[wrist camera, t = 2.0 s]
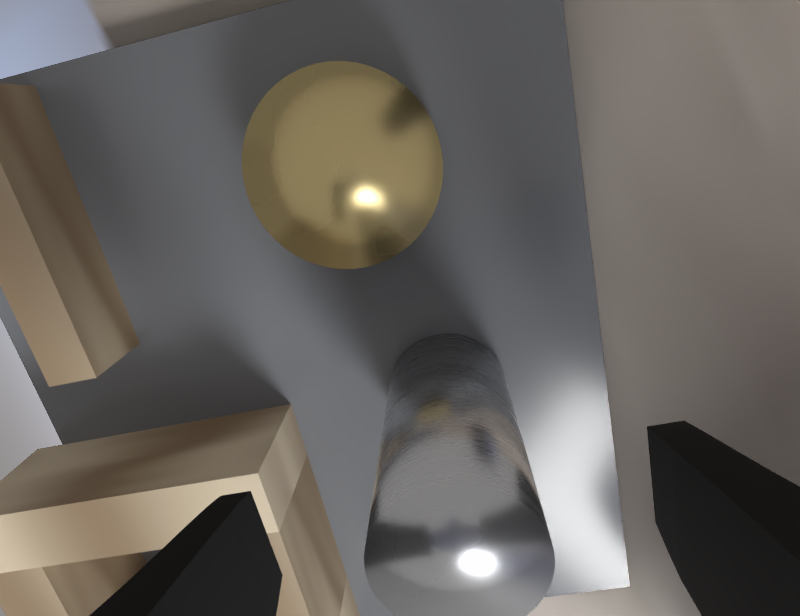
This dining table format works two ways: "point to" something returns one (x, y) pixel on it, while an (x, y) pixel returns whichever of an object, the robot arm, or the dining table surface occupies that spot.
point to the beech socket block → (162, 512)
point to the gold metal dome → (342, 165)
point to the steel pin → (455, 491)
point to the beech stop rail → (53, 252)
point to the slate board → (346, 288)
